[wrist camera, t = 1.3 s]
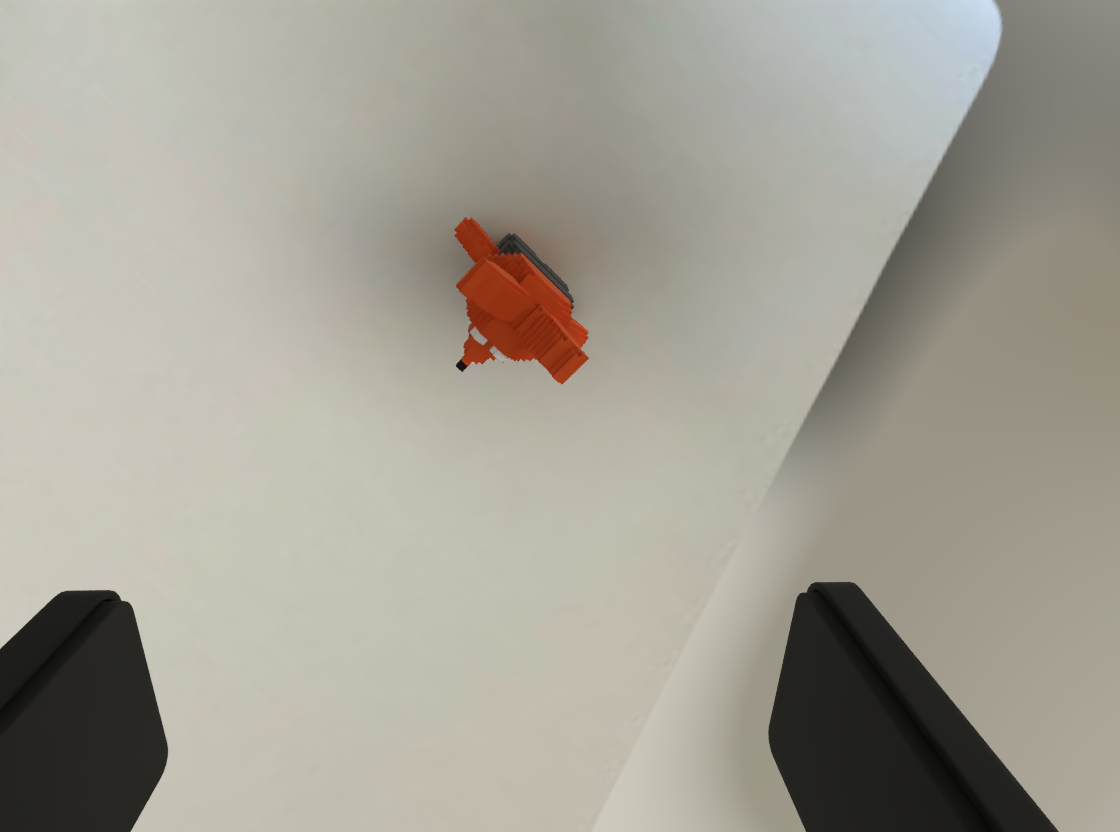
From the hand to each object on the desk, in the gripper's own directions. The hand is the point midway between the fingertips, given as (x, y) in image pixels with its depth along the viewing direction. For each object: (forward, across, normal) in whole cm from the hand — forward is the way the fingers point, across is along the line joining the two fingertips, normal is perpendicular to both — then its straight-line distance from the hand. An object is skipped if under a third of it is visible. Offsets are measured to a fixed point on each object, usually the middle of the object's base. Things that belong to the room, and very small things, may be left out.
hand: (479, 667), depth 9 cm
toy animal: (+28, 0, 0) cm, 28 cm away
